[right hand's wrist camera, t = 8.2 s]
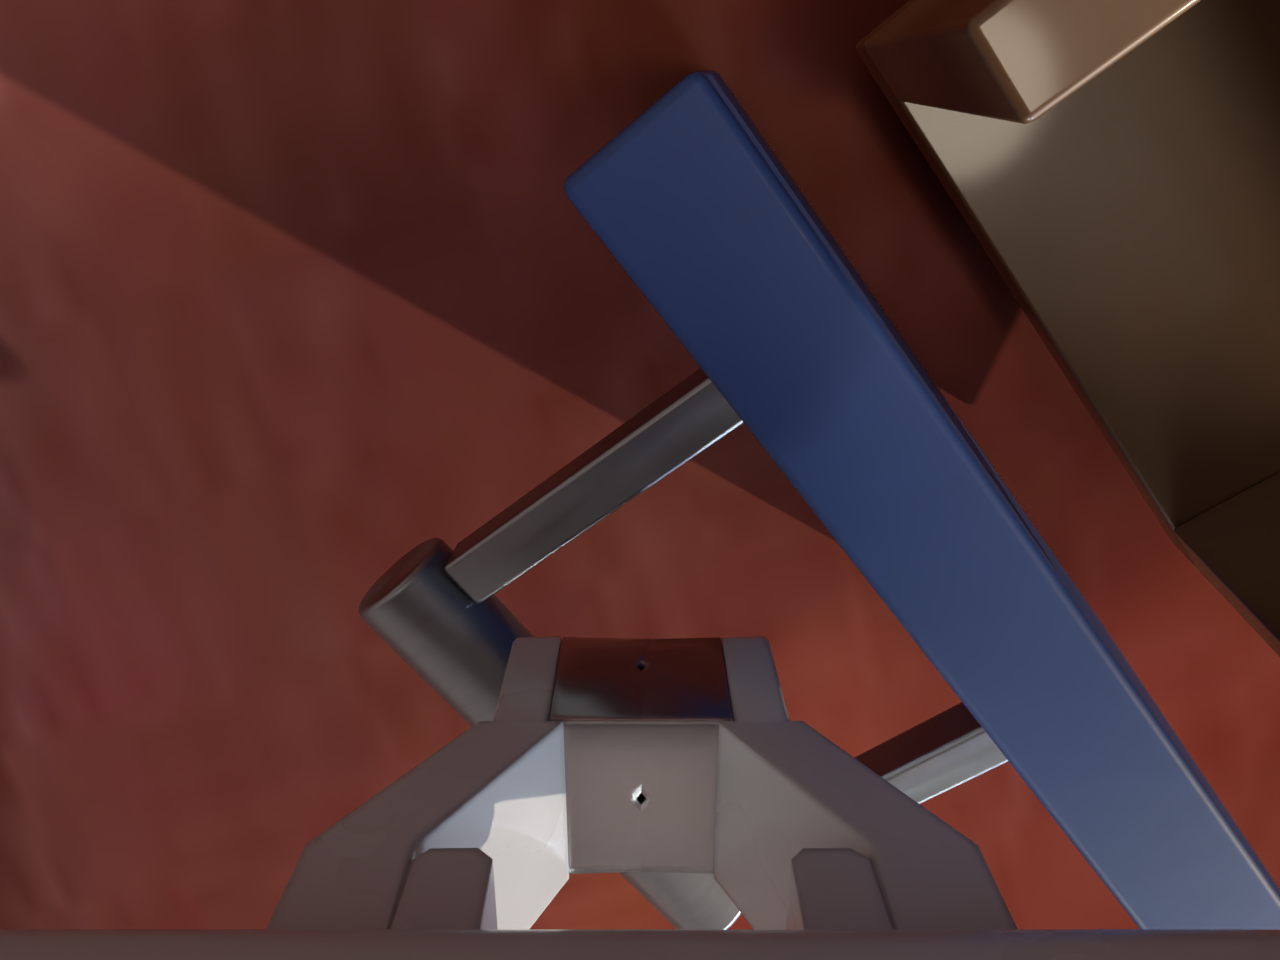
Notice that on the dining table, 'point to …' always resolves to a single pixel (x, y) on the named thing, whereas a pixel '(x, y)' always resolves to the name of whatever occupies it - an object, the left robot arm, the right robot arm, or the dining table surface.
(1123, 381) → the drawer
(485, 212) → the dining table surface
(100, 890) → the dining table surface
